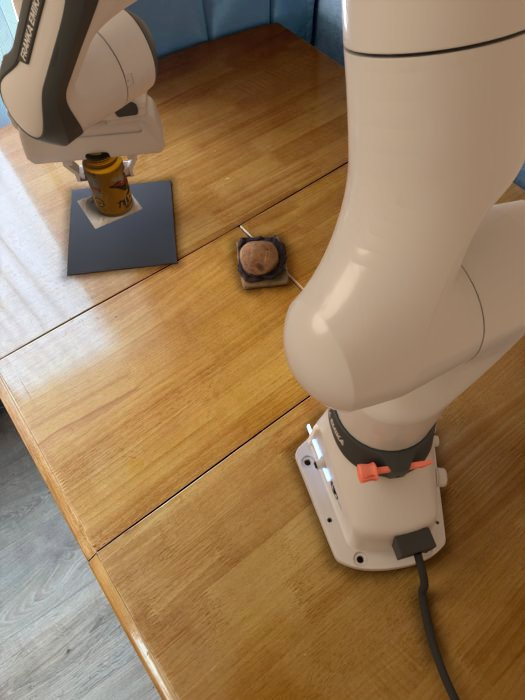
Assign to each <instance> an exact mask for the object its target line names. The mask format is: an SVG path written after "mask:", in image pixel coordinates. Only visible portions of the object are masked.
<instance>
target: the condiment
mask: <svg viewBox="0 0 525 700" xmlns="http://www.w3.org/2000/svg"><path fill="white" fill-rule="evenodd" d="M85 158H86V160H81V166H83V169H84V172H85V175H86V178H87V183H88V186H89V188H90V189H91V192H92V195H91V196H89V197H87V198H83V199H81V200H79V201H77V202H78V203H79V205H80V206H81V208H82V210H83V211H84V213H85V214H86V216H87V217H88V219H89V220H90V222H91V223H92V225H93V226H94V228H95V229H97V228H99V227H101V226H104V225H105V224H108V223H110V222H112V221H115V220H118V219H120V218H123V217H125V216H127V215H130V214H132V213H134V212H137V211H139V210H141V209H142V207H141V206H140V204H139V203H138V202H137V200H136V199H135V198H134V196H133V195H132V194H131V191H130V187H129V184H130V183H129V179H128V177H125V173H124V171H123V162H124V160H123V157H122V156H119V157H110V155H109V153H107V152H102V153H90V154H86V155H85Z"/></svg>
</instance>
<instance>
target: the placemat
mask: <svg viewBox="0 0 525 700" xmlns="http://www.w3.org/2000/svg"><path fill="white" fill-rule="evenodd" d="M129 187H130V191H131V194H132V195H133V196H134V198H135V199H136V200H137V202H138V203H139V204H140V206H141V207H142V209H141V210H139V211H137V212H134V213H132V214H130V215H127V216H125V217H123V218H120V219H118V220H115V221H112V222H110V223H108V224H105V225H104V226H101V227H99V228H97V229H95V228H94V226H93V225H92V223H91V222H90V220H89V219H88V217H87V216H86V214H85V213H84V211H83V210H82V208H81V206H80V205H79V203H78V202H77V201H79V200H81V199H83V198H87V197H89V196H91V195H92V192H91V189H90V187H88V188H77V189H71V194H70V195H71V196H70V213H69V214H70V215H69V229H68V230H69V231H68V232H69V233H68V246H67V247H68V249H67V265H66V276H77V275H86V274H94V273H95V274H96V273H104V272H112V271H120V270H130V269H139V268H147V267H148V268H149V267H156V266H157V267H158V266H167V265H176V264H178V257H177V246H176V245H177V244H176V234H175V233H176V231H175V220H174V219H175V218H174V208H173V195H172V182H171V180H170V179H167V180H157V181H147V182H140V183H139V182H138V183H137V182H136V183H129Z"/></svg>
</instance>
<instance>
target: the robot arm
mask: <svg viewBox="0 0 525 700" xmlns="http://www.w3.org/2000/svg"><path fill="white" fill-rule="evenodd" d="M136 2H138V0H11V3H12V7H13V10H14V15H15V17H16V20H17V25H16V30H15V34H14V40H13V43H12V46H11V48H10V50H9V51H8V52H7V53H6V54H4V55H2V58H1V60H0V98H1V100H2V103H3V105H4V107H5V109H6V113H7V117H8V118H9V119H8V120H10V123H11V125H12V127H13V128H14V129H16V130H17V131H18V136H19V140H20V143H21V147H22V150H23V153H24V156H25V157H26V159H27V160H28V161H29V162H31V163H32V164H34V165H45V164H55V163H61V164H62V166H63V168H65V169H66V170H68V171H69V172H70V173H72V174H73V175H74V176H75V179H76V181H77V182H78V183H81V182H88V180H87V178H86V175H85V172H84V169H83V166H82V165H79V164H78V163H77V162H78V161H82V160H86V158H85V155H86V154H90V153H102V152H107V153H109V155H110V157H119V156H121V157H126V158H127V161H123V171H124V173H125V177H127V178H131V177H132V178H133V177H135V176H136V174H135V173H136V172H135V165H136V163H137V162H138V161H137V160H138V156H139V155H149V154H151V155H152V154H160V153H163V151H164V150H165V148H166V135H165V129H164V125H163V124H164V123H163V121H162V117H161V115H160V112H159V109H158V107H157V106H158V105H157V104H156V103H155V101H154V99H153V98H152V97H151V96H150V95H149V94H148V91H149V90H150V89H151V88H153V87H154V86H155V84H156V82H157V78H158V75H159V74H158V73H159V60H158V59H159V58H158V52H157V48H156V44H155V41H154V37H153V34H152V33H151V31H150V28H149V27H148V26H147V25H148V24H146V23H145V21H144V20H143V19H141V18H140V17H139V16H138V15H137V14H135V13H133V12H132V11H130V10H128V9H126V8H128V7H130V6H132V5H133V4H135V3H136ZM340 11H341V27H342V29H341V31H342V45H343V62H344V76H345V92H346V114H347V115H346V116H347V152H348V154H347V156H348V157H347V173H346V183H345V188H344V194H343V199H342V203H341V207H340V209H339V213H338V217H337V220H336V222H335V227H334V229H333V232H332V235H331V238H330V240H329V242H328V244H327V246H326V249H325V252H324V254H323V256H322V257H321V260H320V262H319V264H318V265H317V267H316V269H315V270H314V272H313V274H312V276H311V277H310V278H309V280H308V281H307V283H306V284H305V286H303V288H302V289H301V291H300V292H299V293H298V294H297V296H296V297H295V298H294V299H293V300H292V301H291V302H290V304H289V306H288V309H287V311H286V314H285V318H284V323H283V331H282V344H283V345H282V346H283V351H284V352H283V353H284V355H285V356H284V357H285V360H286V363H287V365H288V368H289V370H290V372H291V373H292V375H293V377H294V379H295V380H296V383H298V385H299V386H300V387H301V388H302V389H303V390H304V391H305V392H306V394H307V395H309V396H310V397H311V398H312V399H314V400H315V401H316V402H318V403H319V404H321V405H323V406H325V407H327V409H326V410H325V411H324V413H323V414H322V415H321V416H320V418H319V419H318V420H317V421H316V422H315V424H314V425H313V427H311V425H310V423H308V424H307V425H306V428H307V432H308V433H309V436H308V438H306V440H304V441H303V442H302V443H301V444H300V445H299V446H298V447H297V449H296V451H295V453H294V459H295V463H296V465H297V467H298V470H299V473H300V475H301V477H302V480H303V482H304V485H305V487H306V488H305V489H306V490H307V492H308V495H309V498H310V501H311V503H312V506H313V508H314V510H315V513H316V515H317V518H318V520H319V522H320V525H321V528H322V531H323V533H324V535H325V538H326V540H327V543H328V545H329V548H330V551H331V554H332V556H333V557H334V559H335V561H336V562H337V563H338V564H340V565H343V566H345V567H347V568H349V569H354V570H357V571H363V572H385V571H395V570H399V569H404V568H405V569H406V568H409V567H413V566H416V569H417V573H418V578H419V585H418V588H417V593H418V601H419V602H418V603H419V607H420V613H421V619H422V623H423V628H424V631H425V635H426V640H427V642H428V646H429V649H430V653H431V655H432V658H433V661H434V664H435V667H436V669H437V673H438V675H439V678H440V680H441V683H442V684H443V687H444V689H445V692H446V694H447V696H448V697H449V700H461V698H460V697H459V695H458V693H457V691H456V689H455V687H454V684H453V682H452V680H451V677H450V675H449V672H448V670H447V668H446V664H445V662H444V659H443V657H442V654H441V650H440V647H439V644H438V641H437V637H436V634H435V631H434V627H433V624H432V618H431V612H430V607H429V602H428V594H427V593H428V590H429V588H430V584H429V583H430V582H429V576H428V571H427V567H426V564H425V562H426V561H427V560H429V559H431V558H433V557H434V556H435V555H437V554H438V552H440V551H441V550H442V548H443V547H444V546H445V544H446V542H447V541H446V530H445V521H444V512H443V505H442V496H441V489H440V488H445V487H447V485H448V472H447V470H446V469H445V467H438V464H437V455H436V448H437V447H439V445H440V438H439V436H438V435H435V434H436V433H437V426H438V420H439V418H440V417H441V416H442V414H443V413H444V412H445V410H446V409H447V408H448V407H449V406H450V405H451V404H452V403H453V401H455V400H456V399H457V398H459V396H460V395H462V394H463V393H464V392H465V391H467V390H468V388H470V387H471V386H472V385H473V384H474V383H475V382H477V381H478V380H479V379H480V378H481V377H482V376H484V374H485V373H486V372H488V371H489V370H490V369H491V368H492V367H493V366H494V365H495V364H496V363H497V362H498V361H499V360H501V358H503V357H504V356H505V355H506V353H508V352H509V351H510V350H511V349H512V348H513V347H514V346H515V345H516V344H517V343H518V342H519V341H520V340H521V339H522V338H523V337H524V336H525V199H518V200H513V201H506V202H501V203H497V202H498V200H500V198H501V197H502V196H503V195H504V194H505V193H506V192H507V190H508V189H509V188H510V187H511V185H512V184H513V183H514V181H515V179H516V178H517V176H518V174H519V173H520V171H521V169H522V168H523V166H524V163H525V0H340ZM76 161H77V162H76ZM305 462H309V463H310V464H309V465H307V464H306V463H305ZM329 520H330V522H329ZM358 558H361V559H362V562H358Z"/></svg>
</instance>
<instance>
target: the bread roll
mask: <svg viewBox="0 0 525 700" xmlns="http://www.w3.org/2000/svg"><path fill="white" fill-rule="evenodd" d="M235 246H236V259H237V272H238V274H239V278H240V281H241V285H242V288H243V289H244V290H249V289H257V288H264V287H277V286H284V285H285V286H286V285H289V281H290V280H289V279H290V278H289V271H288V270H289V269H288V263H287V260H288V256H287V247H286V245H285V243H284V242H281V239H280V237H279V236H277V235H276V234H275V235H273V236H266V237H265V236H262V235H259V236H254V237H253V236H250V237H249V236H248V237H240V238H239V239H238V240H237V241H236V244H235Z"/></svg>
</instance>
